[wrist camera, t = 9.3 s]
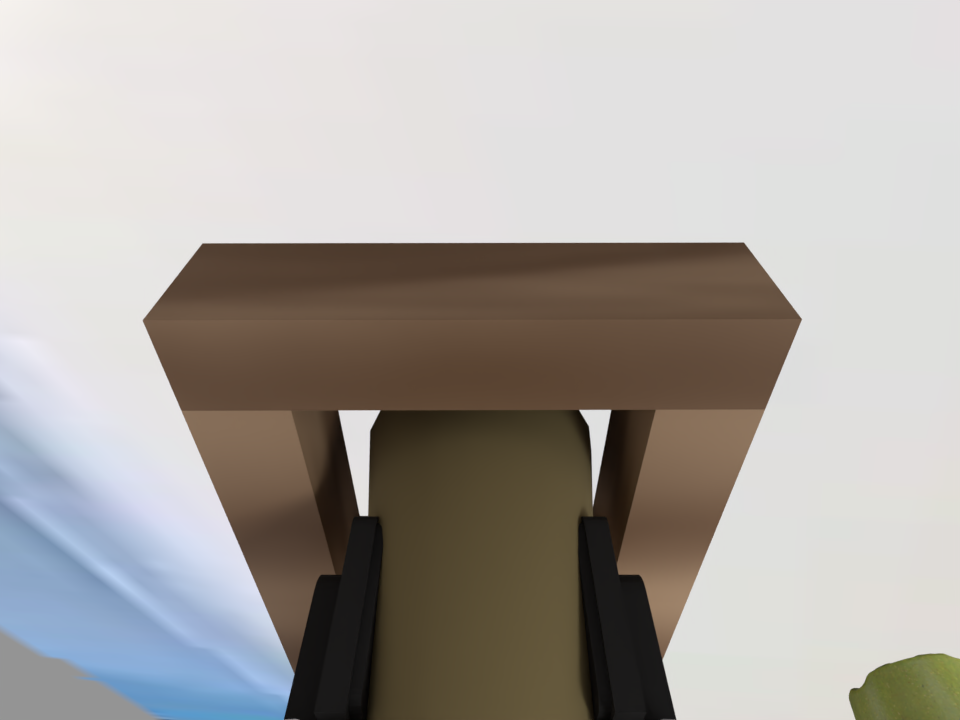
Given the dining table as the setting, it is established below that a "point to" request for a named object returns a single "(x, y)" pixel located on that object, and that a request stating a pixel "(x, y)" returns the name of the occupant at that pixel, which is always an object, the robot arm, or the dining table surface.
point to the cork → (480, 565)
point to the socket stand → (471, 382)
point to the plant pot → (910, 690)
